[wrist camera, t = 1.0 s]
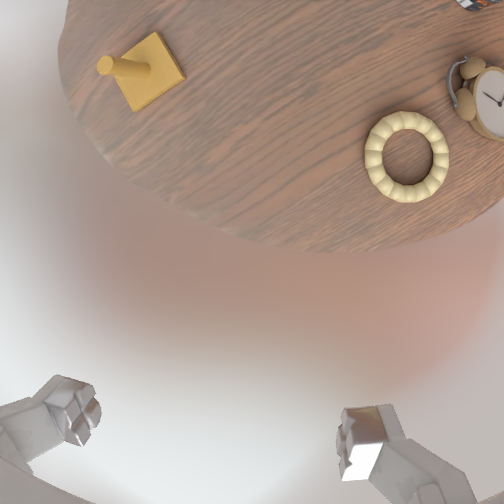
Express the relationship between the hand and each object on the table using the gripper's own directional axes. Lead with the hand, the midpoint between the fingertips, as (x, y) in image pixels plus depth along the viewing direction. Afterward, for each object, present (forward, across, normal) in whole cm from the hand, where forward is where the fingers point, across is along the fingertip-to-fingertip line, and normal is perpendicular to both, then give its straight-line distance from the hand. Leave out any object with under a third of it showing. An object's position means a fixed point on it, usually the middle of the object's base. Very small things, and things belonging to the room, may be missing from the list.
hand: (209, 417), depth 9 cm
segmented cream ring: (+34, -20, -10) cm, 41 cm away
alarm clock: (+33, -32, -21) cm, 50 cm away
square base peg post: (+35, +17, -23) cm, 45 cm away
